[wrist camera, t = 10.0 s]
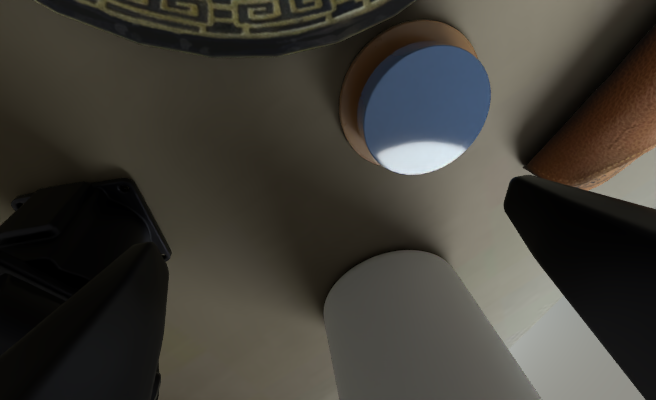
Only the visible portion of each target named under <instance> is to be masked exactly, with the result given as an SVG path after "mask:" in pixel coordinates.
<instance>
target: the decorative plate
mask: <svg viewBox="0 0 656 400" xmlns="http://www.w3.org/2000/svg"><path fill="white" fill-rule="evenodd" d="M34 1H35V2H37V3H39V4H41V5H43V6H45V7H46V8H48V9H50V10H52V11H54V12H55V13H57V14H59V15H62V16H65V17H67V18H70V19H73V20H75V21H78V22H81V23H84V24H86V25H89V26H92V27H94V28H97V29H100V30H102V31H105V32H108V33H111V34H113V35H116V36H119V37H121V38H124V39H127V40H129V41H132V42H135V43H138V44H140V45H145V46H150V47H156V48H161V49H167V50H172V51H177V52H183V53H188V54H194V55H199V56H205V57H210V58H253V57H280V56H284V55H288V54H292V53H297V52H301V51H305V50H310V49H314V48H318V47H323V46H327V45H331V44H336V43H339V42H341V41H343V40H345V39H347V38H349V37H351V36H354V35H356V34H358V33H360V32H362V31H364V30H366V29H369V28H371V27H373V26H375V25H377V24H379V23H381V22H384V21H386V20H388V19H390V18H392V17H394V16H396V15H397V14H398V13H400V12H401V11H402V10H404V9H405V8H407V7H408V6H409V5H411V4H412V3H413V2H415V1H416V0H34Z"/></svg>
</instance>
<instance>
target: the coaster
mask: <svg viewBox="0 0 656 400" xmlns="http://www.w3.org/2000/svg"><path fill="white" fill-rule="evenodd" d="M430 40H432V41H441V42H445V43H448V44H451V45H454V46H457V47H460V48H462V49H464V50H467V51H468V52H470V53H471V54H473V55H474V56H475V57H476V58H477V55H476V53H475V50H474V48H473V46H472V45H471V43H470V42H469V40H468V39H467V38H466V37H465V36H464V35H463V34H462V33H461V32H459V31H458V30H457V29H455V28H454V27H452V26H450V25H447V24H445V23H442V22H438V21H434V20H425V19H423V20H412V21H407V22H403V23H400V24H397V25H394V26H392V27H390V28H388V29H386V30H385V31H383V32H381V33H380V34H379V35H377V36H376V37H374V38H373V39H372V40H371V41H370V42H369V43H368V44H367V45H365V47H364V48H363V49H362V50H361V51H360V52H359V53H358V55H357V56H356V58H355V59H354V61H353V62H352V64H351V66H350V67H349V69H348V71H347V73H346V76H345V78H344V81H343V84H342V88H341V92H340V99H339V116H340V122H341V126H342V129H343V132H344V134H345V136H346V138H347V140H348V142H349V143H350V145H351V146H352V148H353V149H354V150H355V151H356V152H357V153H358V154H359V155H360V156H361V157H363V158H364V159H366V160H367V161H369V162H371V163H374V164H376V165H379V166H381V165H380V164H379V163H378V162H377V161H376V160H375V159H374V158H373V156H372V155H371V153H370V152H369V150H368V149H367V147H366V146H365V144H364V142H363V141H362V138H361V136H360V133H359V129H358V123H357V110H358V103H359V100H360V96H361V93H362V91H363V88H364V86H365V84H366V82H367V80H368V79H369V77H370V76H371V74H372V73H373V71H374V70H375V69H376V68H377V67H378V65H379V64H380V63H381V62H382V61H383V60H385V59H386V58H387V57H388V56H389V55H391V54H392V53H394V52H395V51H397V50H398V49H400V48H402V47H404V46H407V45H409V44H412V43H416V42H420V41H430ZM477 59H478V58H477Z"/></svg>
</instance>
